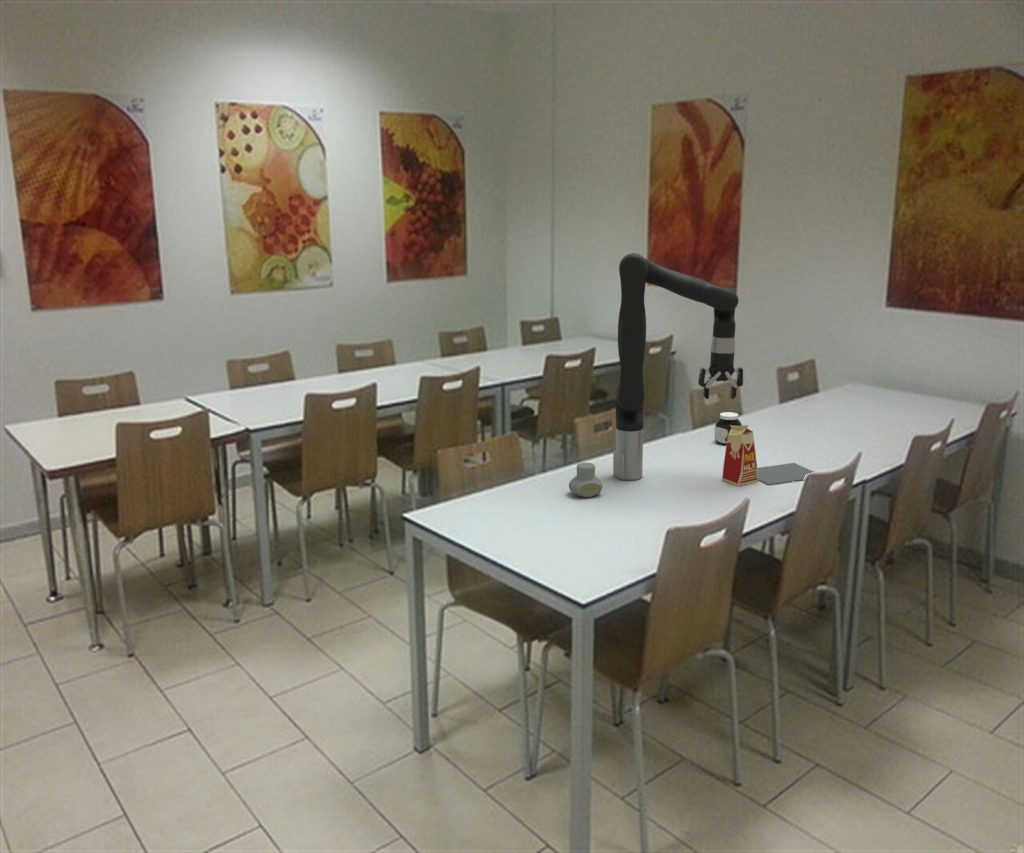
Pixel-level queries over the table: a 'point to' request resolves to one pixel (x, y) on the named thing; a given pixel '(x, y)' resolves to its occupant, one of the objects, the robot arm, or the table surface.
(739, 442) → the milk carton
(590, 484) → the air freshener
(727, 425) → the spread jar
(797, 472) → the mat
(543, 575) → the table surface
